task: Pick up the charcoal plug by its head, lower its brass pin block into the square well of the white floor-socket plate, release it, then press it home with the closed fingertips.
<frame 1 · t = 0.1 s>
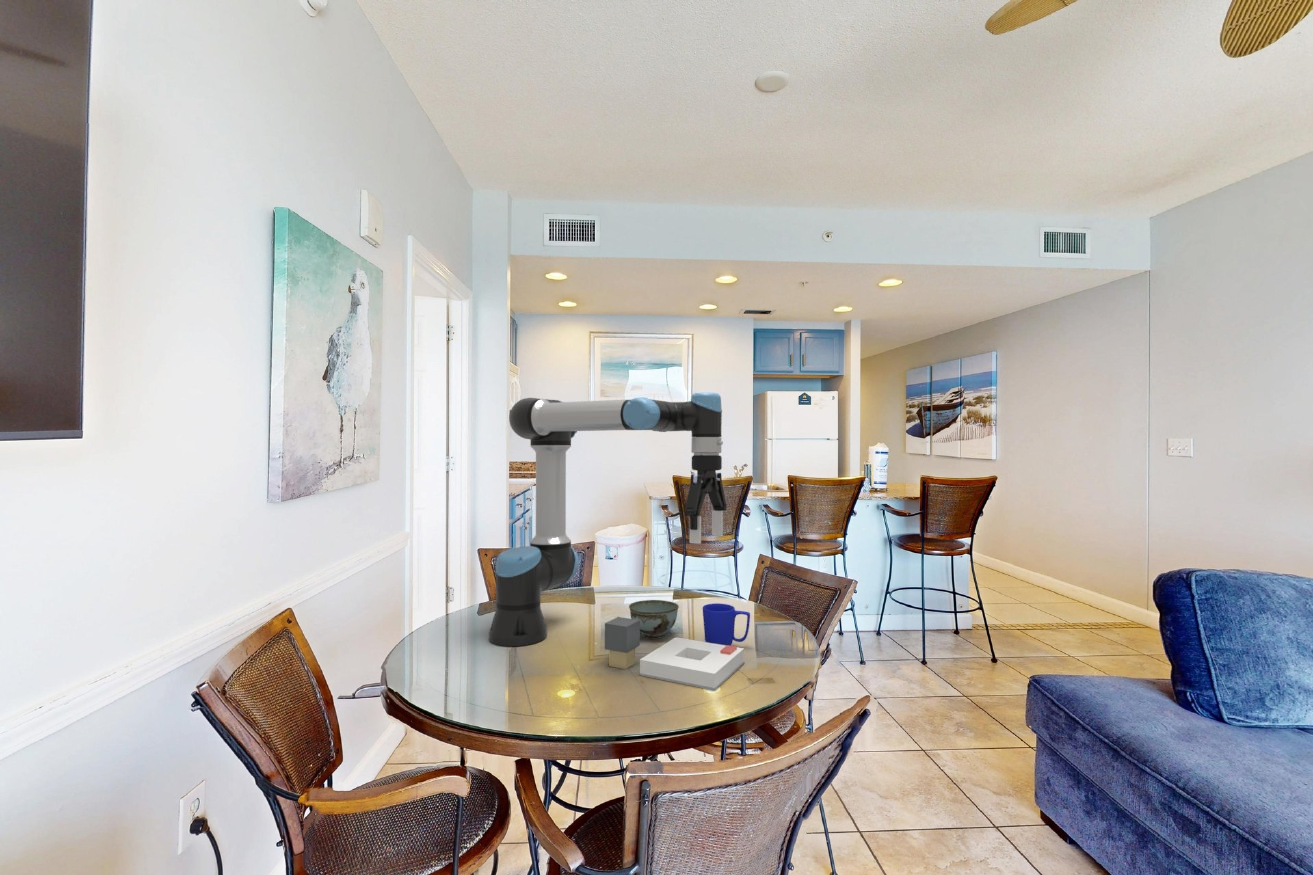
hand: (706, 539, 150), 28 cm above the table, fingers open, 13 cm apart
bowl: (653, 635, 164), on the table
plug: (622, 664, 141), on the table
socket plate: (693, 669, 138), on the table
mug: (726, 647, 154), on the table
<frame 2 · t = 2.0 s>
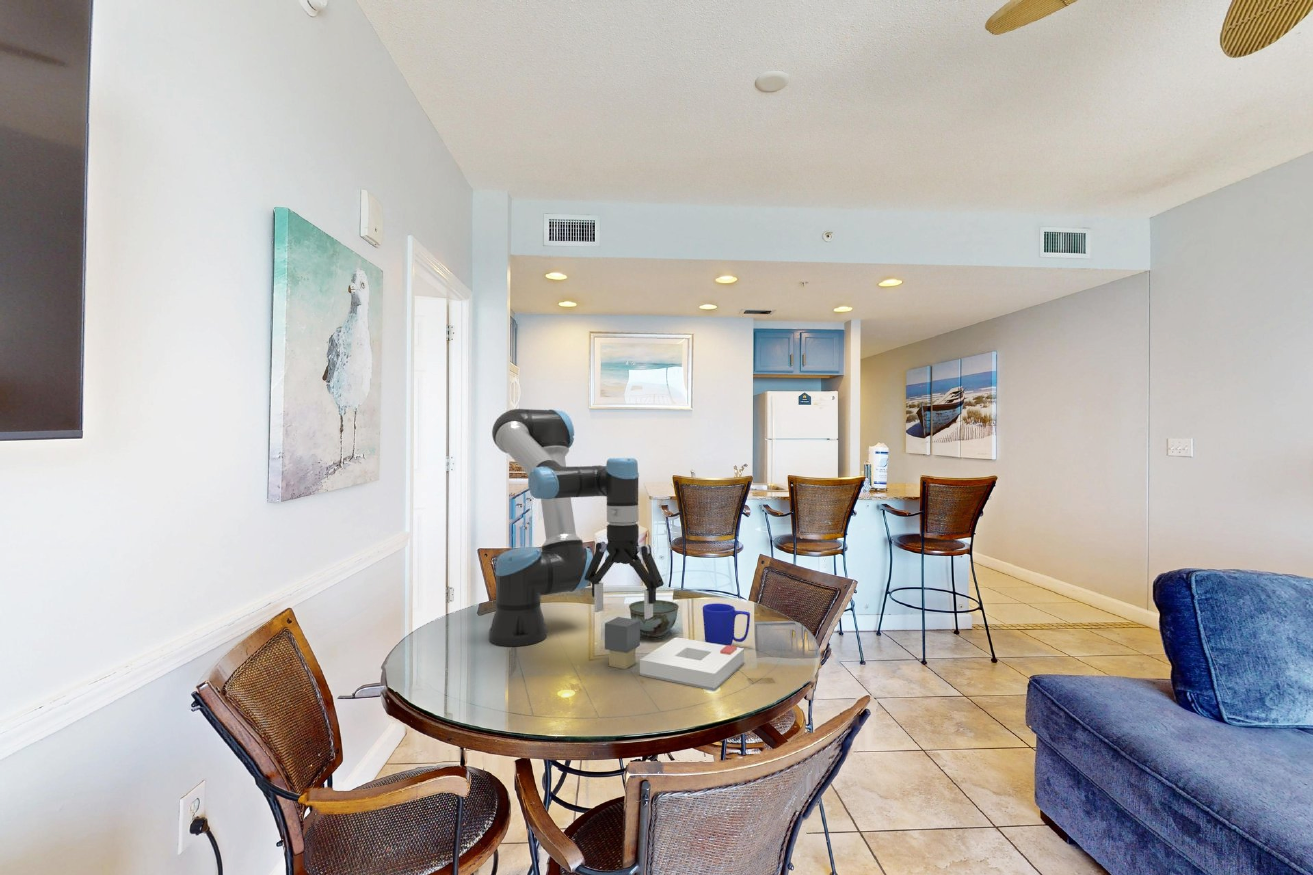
hand: (623, 614, 141), 12 cm above the table, fingers open, 13 cm apart
nothing on the table moved.
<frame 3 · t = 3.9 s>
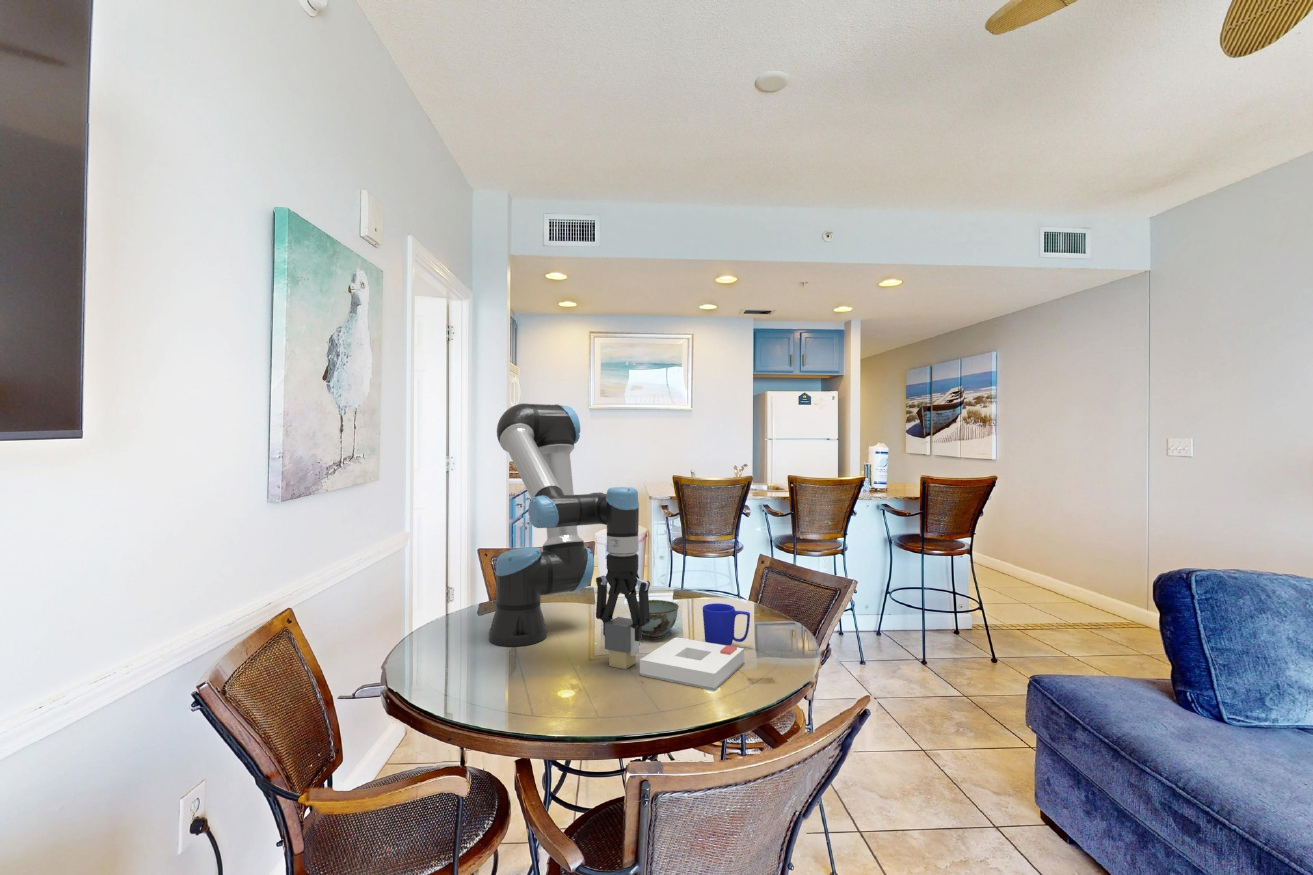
hand: (622, 651, 141), 3 cm above the table, fingers closed on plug, 6 cm apart
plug: (622, 664, 141), on the table, touching gripper
everything else where it was.
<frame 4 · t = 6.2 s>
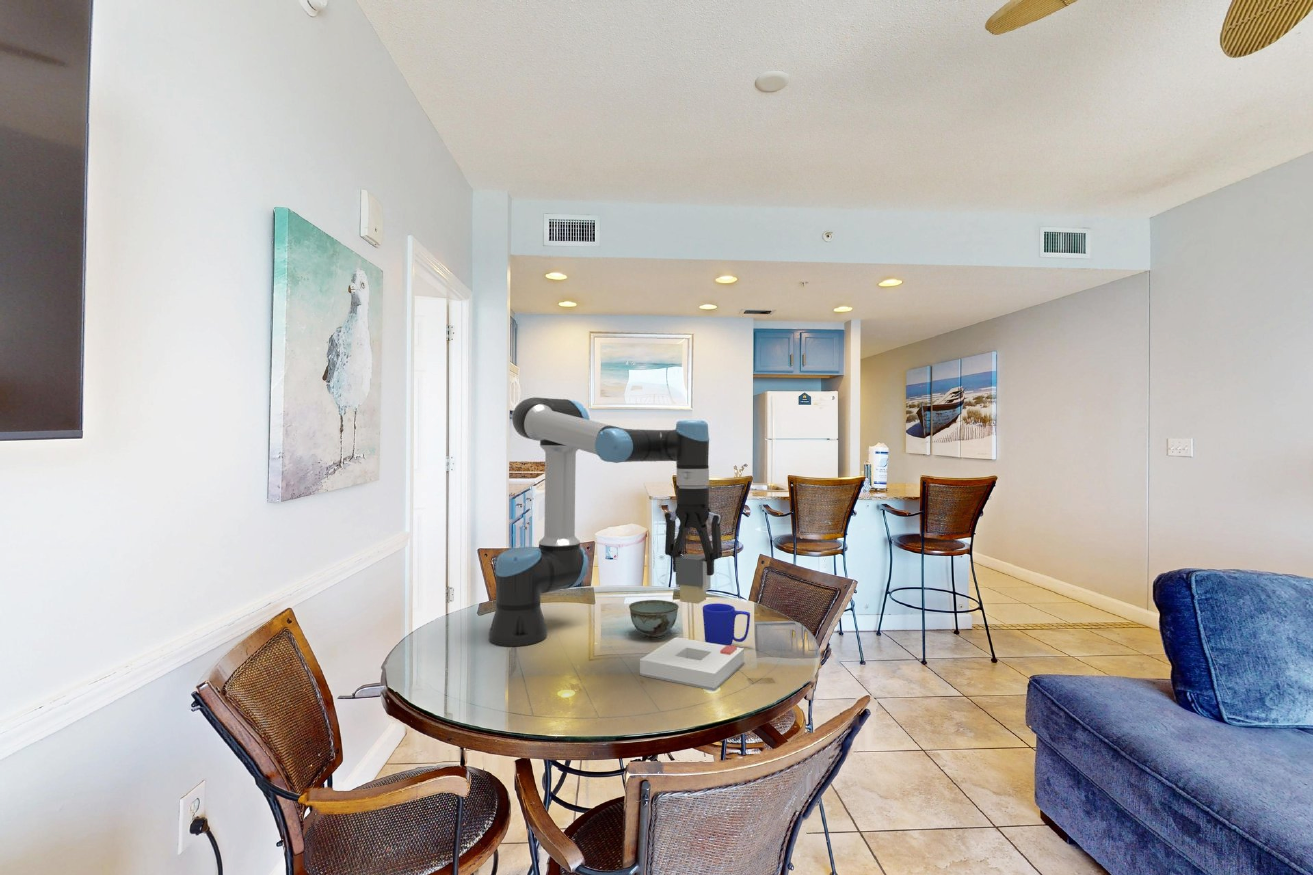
hand: (693, 587, 138), 19 cm above the table, fingers closed on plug, 6 cm apart
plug: (693, 600, 138), point 16 cm above the table, touching gripper
everything else where it was.
when the fingers open (5 cm above the table, at t = 8.6 s): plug drops 1 cm, resting on socket plate.
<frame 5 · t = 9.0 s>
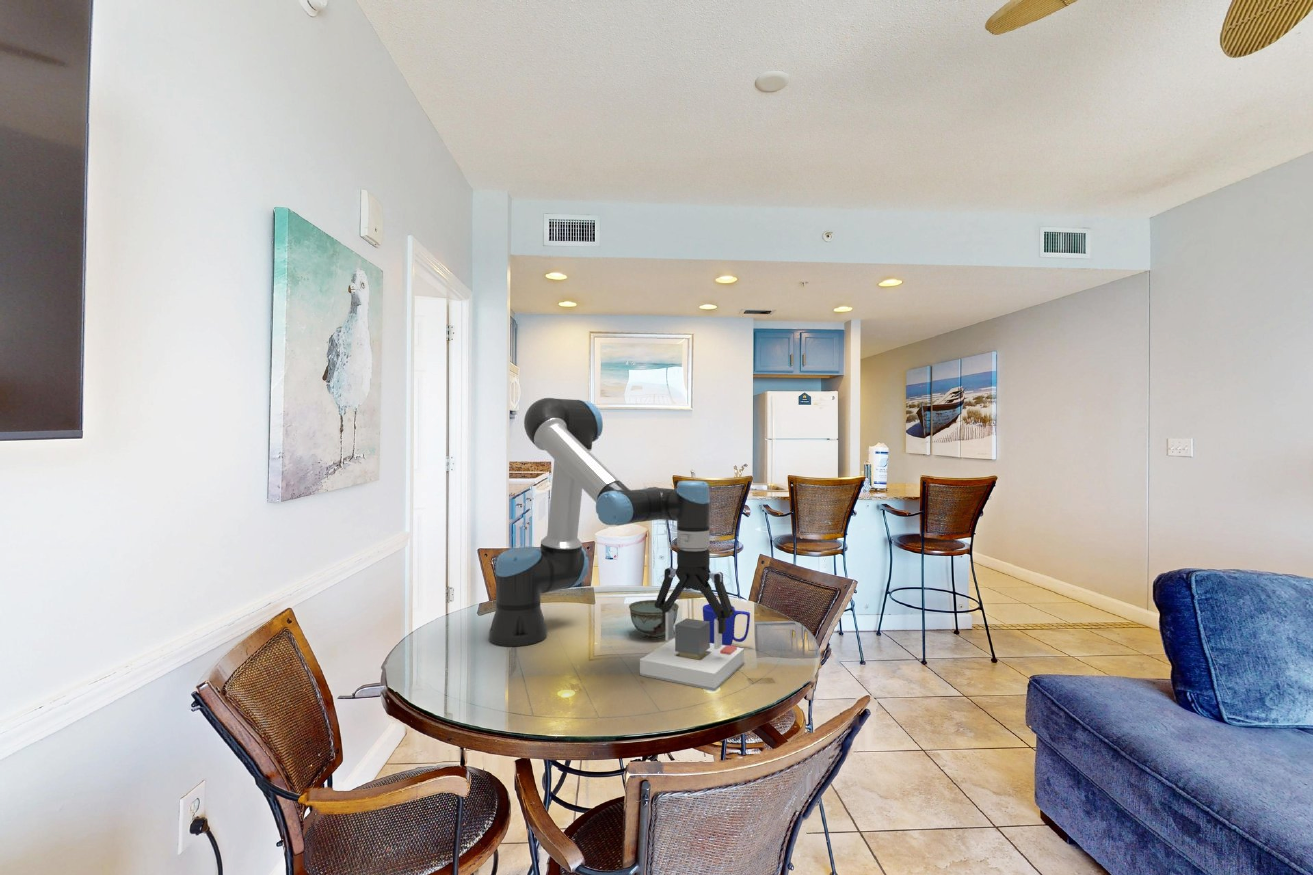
hand: (693, 643, 138), 6 cm above the table, fingers open, 11 cm apart
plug: (692, 666, 138), resting on socket plate
everything else where it was.
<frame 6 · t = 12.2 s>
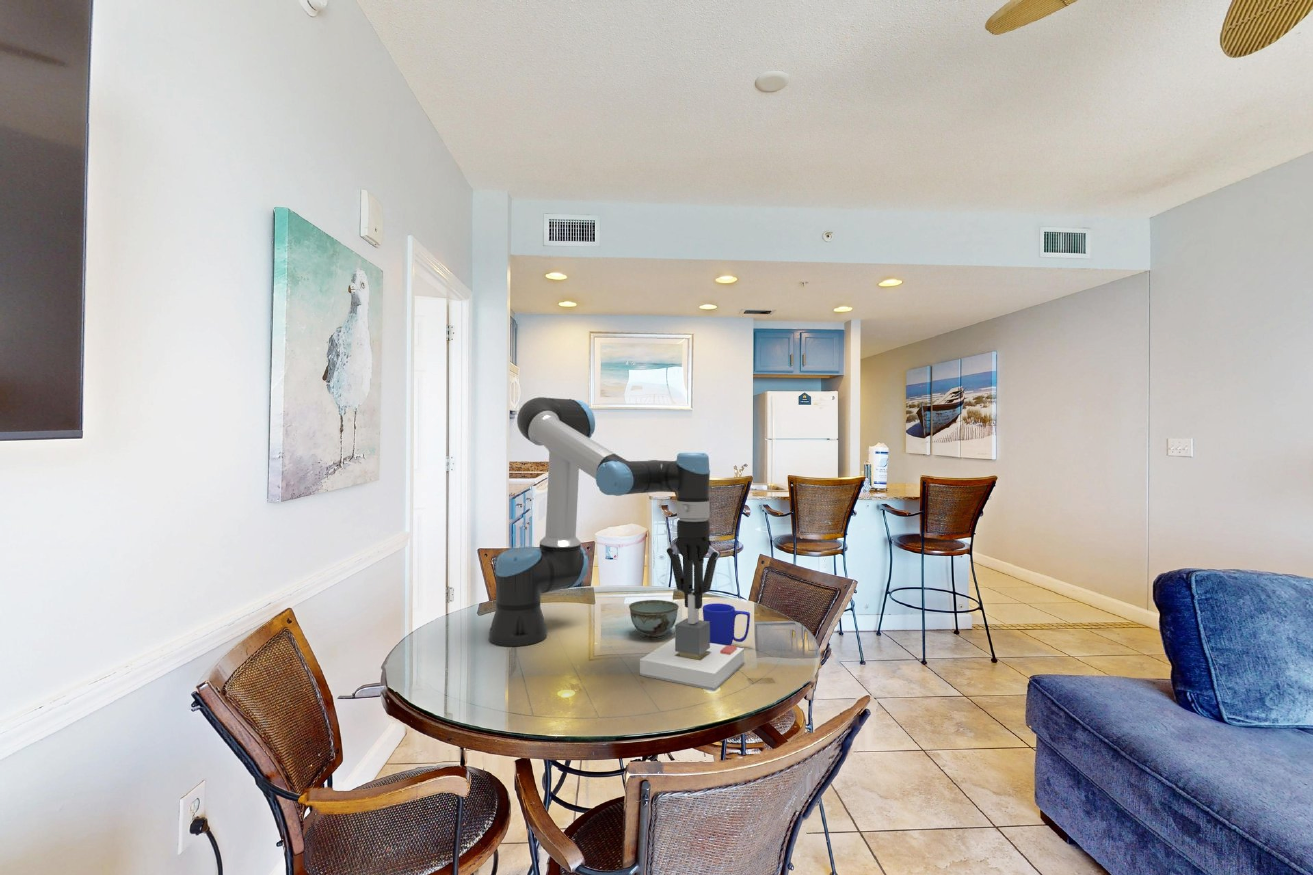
hand: (693, 621, 138), 11 cm above the table, fingers closed
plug: (692, 666, 138), point 1 cm above the table, touching gripper, socket plate
everything else where it was.
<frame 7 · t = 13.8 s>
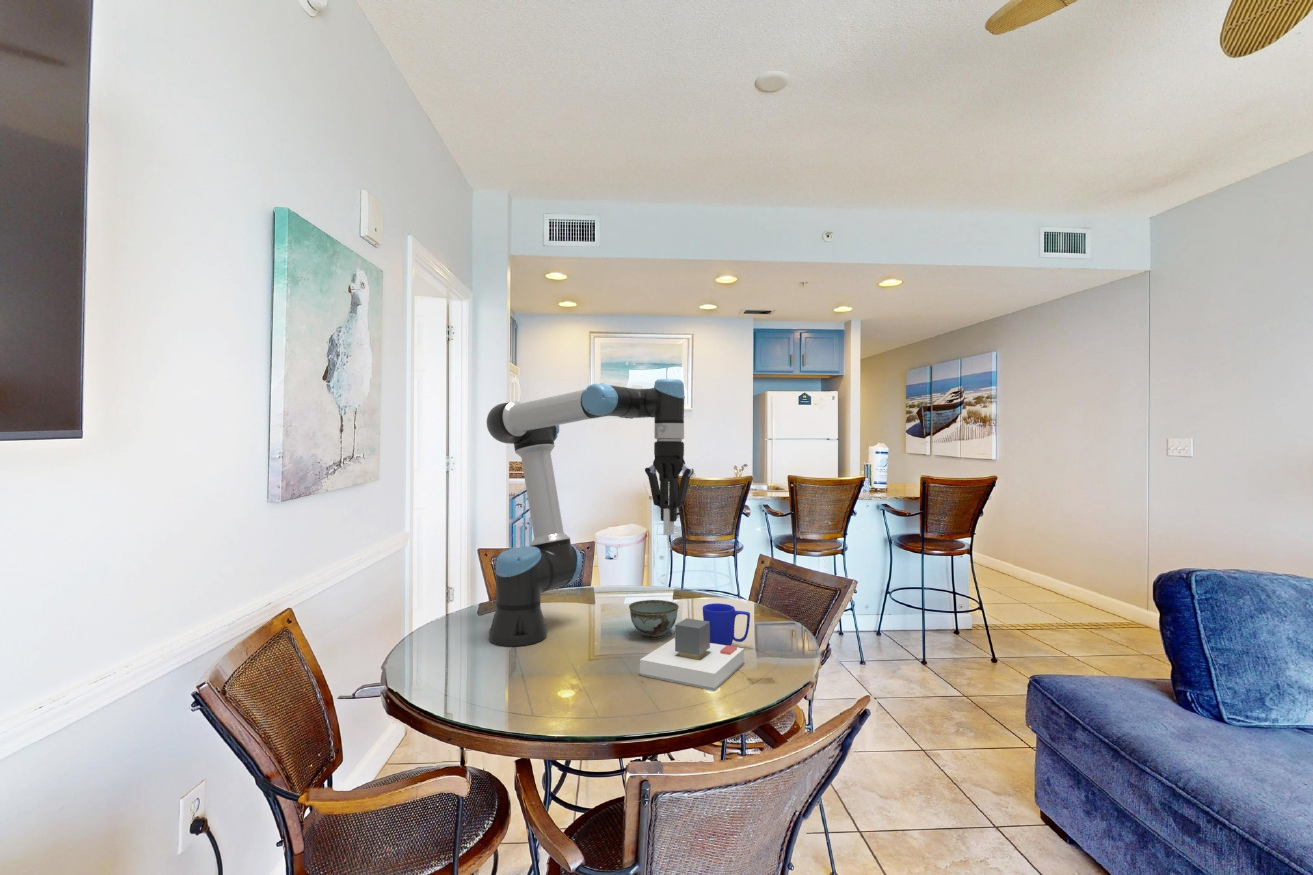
hand: (668, 534, 151), 29 cm above the table, fingers closed
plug: (692, 666, 138), resting on socket plate
everything else where it was.
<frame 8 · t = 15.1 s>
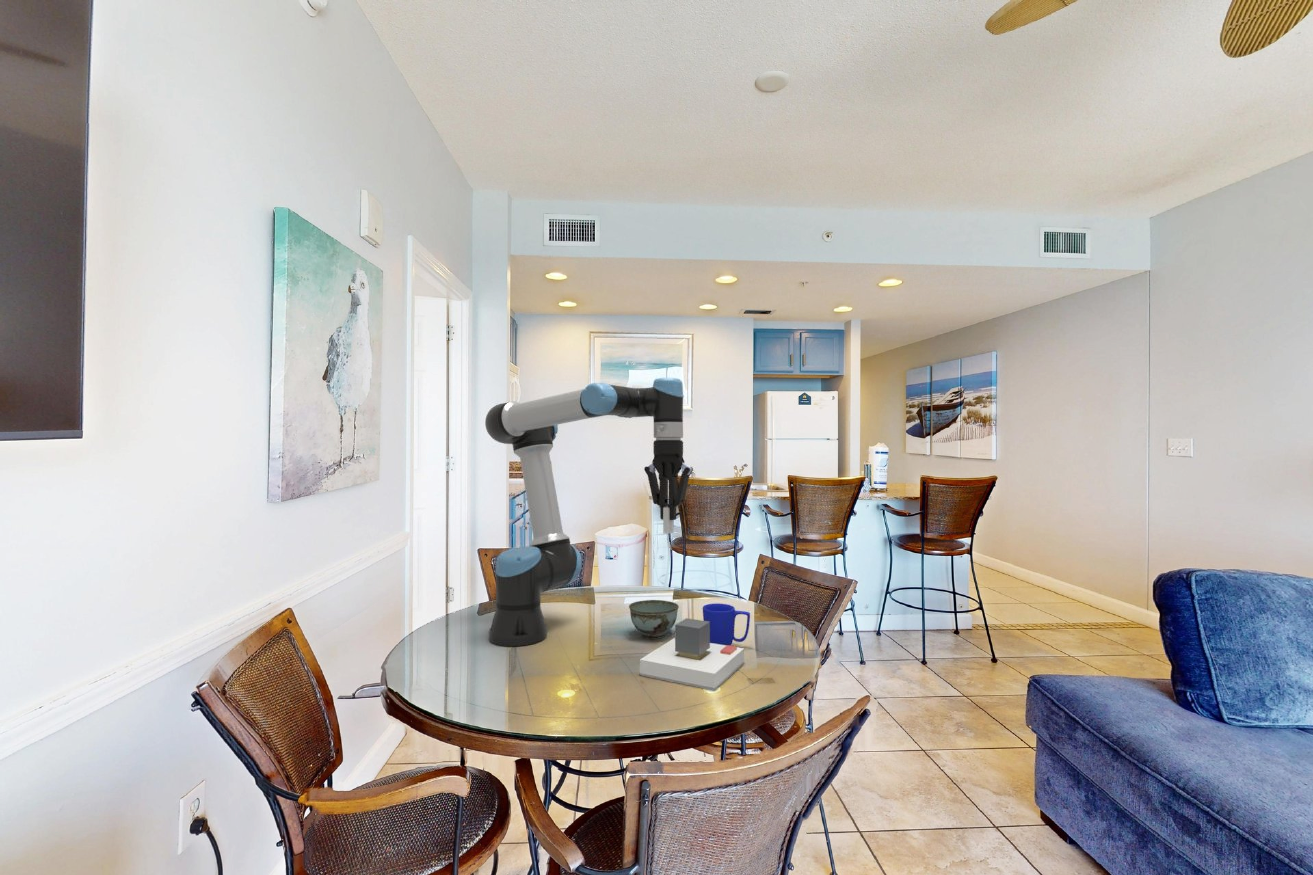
hand: (668, 532, 152), 29 cm above the table, fingers closed
nothing on the table moved.
at the end: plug 0.1 cm off-centre on the socket plate, point 0.5 cm above the socket plate's base; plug tilted 0°; the gripper is holding nothing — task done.
